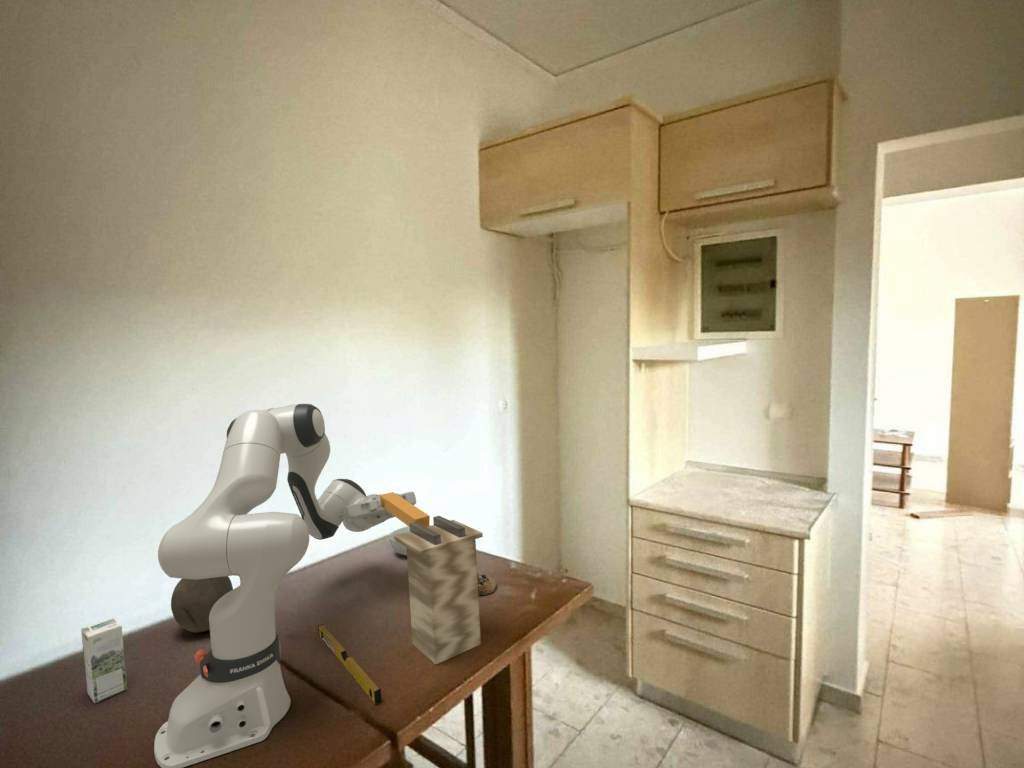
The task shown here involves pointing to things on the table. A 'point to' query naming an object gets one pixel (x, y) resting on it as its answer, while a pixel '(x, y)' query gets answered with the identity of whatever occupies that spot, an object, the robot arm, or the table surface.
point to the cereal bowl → (396, 545)
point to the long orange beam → (404, 510)
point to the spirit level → (351, 665)
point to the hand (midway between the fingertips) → (391, 500)
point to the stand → (443, 587)
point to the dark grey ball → (197, 601)
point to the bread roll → (485, 584)
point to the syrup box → (104, 659)
